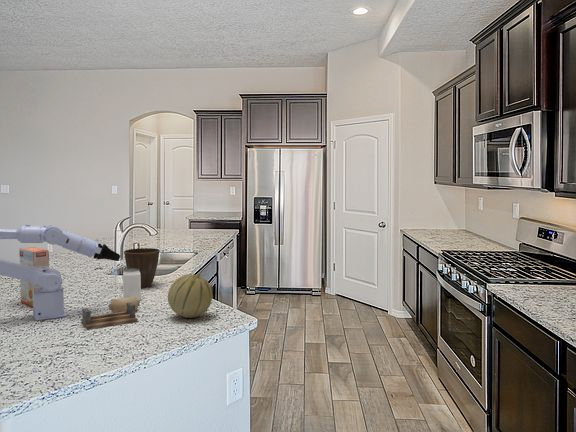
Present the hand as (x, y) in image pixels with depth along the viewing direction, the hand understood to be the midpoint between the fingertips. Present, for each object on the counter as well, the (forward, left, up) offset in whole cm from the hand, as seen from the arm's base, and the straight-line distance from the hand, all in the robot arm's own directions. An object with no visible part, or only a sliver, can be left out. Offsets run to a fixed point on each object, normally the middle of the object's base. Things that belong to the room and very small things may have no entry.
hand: (117, 257), depth 174 cm
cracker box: (-24, +24, -19) cm, 39 cm away
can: (+8, +9, -19) cm, 22 cm away
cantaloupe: (+18, -25, -19) cm, 36 cm away
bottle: (+1, -6, -19) cm, 19 cm away
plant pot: (+19, +32, -19) cm, 42 cm away
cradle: (-7, -16, -19) cm, 25 cm away
